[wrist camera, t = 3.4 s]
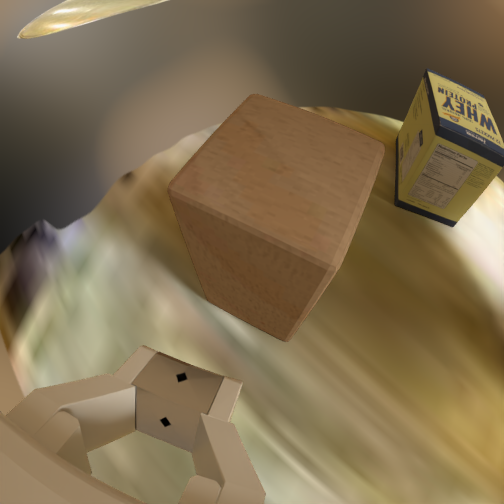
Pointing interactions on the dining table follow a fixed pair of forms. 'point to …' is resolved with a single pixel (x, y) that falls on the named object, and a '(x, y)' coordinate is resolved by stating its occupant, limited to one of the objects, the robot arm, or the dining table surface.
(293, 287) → the wooden block
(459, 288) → the dining table surface
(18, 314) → the dining table surface
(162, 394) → the robot arm
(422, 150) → the protein box
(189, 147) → the dining table surface
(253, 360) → the dining table surface
